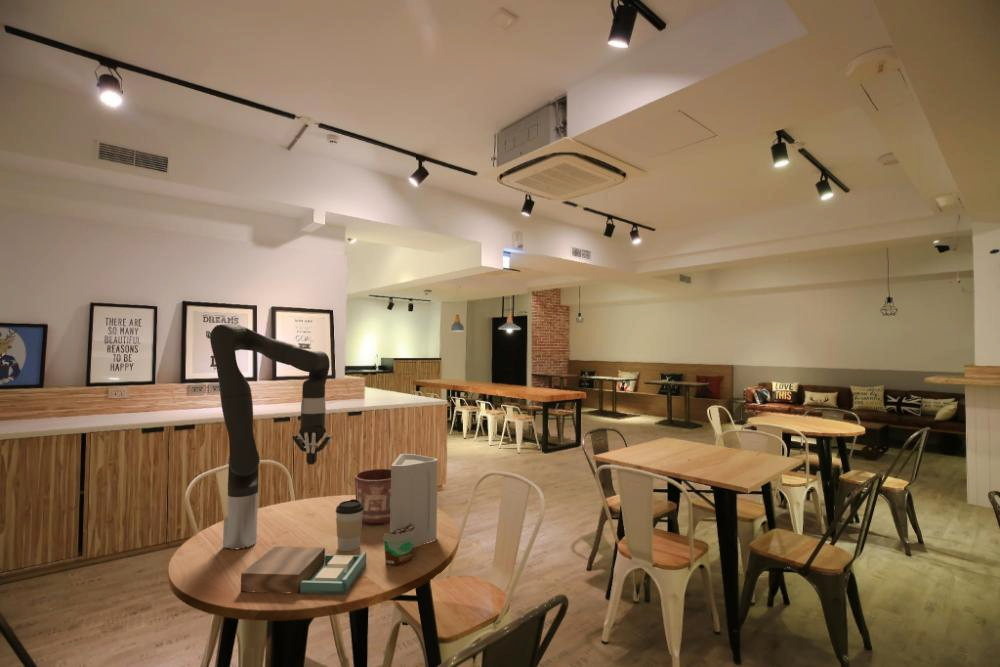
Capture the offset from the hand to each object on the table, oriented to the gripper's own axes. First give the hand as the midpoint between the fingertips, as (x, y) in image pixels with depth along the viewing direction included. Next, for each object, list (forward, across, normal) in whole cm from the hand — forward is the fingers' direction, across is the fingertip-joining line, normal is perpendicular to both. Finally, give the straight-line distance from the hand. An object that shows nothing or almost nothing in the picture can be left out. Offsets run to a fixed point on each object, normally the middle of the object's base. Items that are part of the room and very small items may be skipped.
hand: (311, 464), depth 155 cm
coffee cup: (+29, +11, +6) cm, 32 cm away
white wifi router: (+29, +32, +14) cm, 46 cm away
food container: (+29, +32, -4) cm, 44 cm away
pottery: (+29, +13, +32) cm, 45 cm away
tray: (+29, +15, -16) cm, 36 cm away
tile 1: (+26, +14, -20) cm, 36 cm away
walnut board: (+29, 0, -16) cm, 33 cm away
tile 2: (+26, +15, -11) cm, 32 cm away
